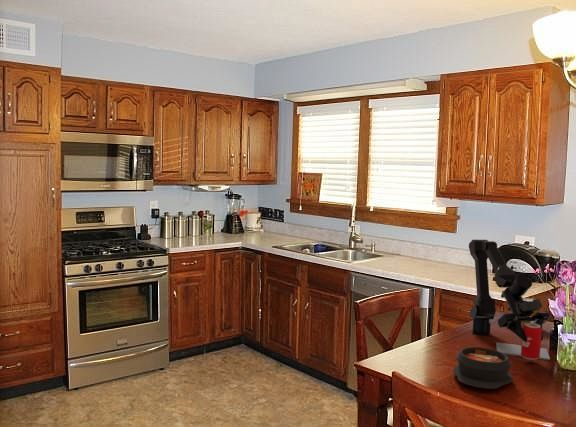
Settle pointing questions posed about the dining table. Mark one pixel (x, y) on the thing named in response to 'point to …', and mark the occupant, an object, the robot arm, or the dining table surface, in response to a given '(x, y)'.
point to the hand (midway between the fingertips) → (534, 340)
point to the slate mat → (518, 350)
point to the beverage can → (531, 341)
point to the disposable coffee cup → (531, 314)
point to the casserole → (483, 368)
